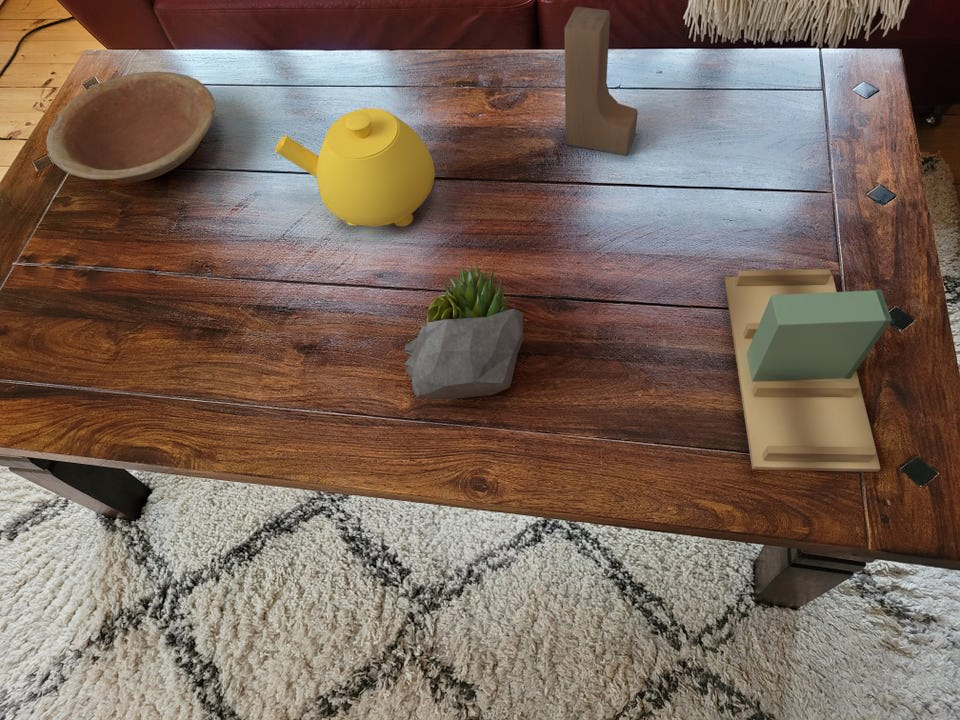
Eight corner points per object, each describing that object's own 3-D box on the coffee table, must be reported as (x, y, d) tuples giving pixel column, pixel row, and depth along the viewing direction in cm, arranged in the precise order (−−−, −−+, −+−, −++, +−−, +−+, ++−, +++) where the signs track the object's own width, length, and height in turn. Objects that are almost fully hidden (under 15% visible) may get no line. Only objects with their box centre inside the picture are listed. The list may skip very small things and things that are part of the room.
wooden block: (636, 134, 96) (648, 13, 81) (627, 156, 94) (638, 36, 79) (574, 124, 98) (574, 4, 83) (564, 145, 96) (563, 27, 81)
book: (841, 349, 74) (881, 289, 65) (850, 378, 73) (892, 320, 63) (745, 353, 75) (770, 294, 66) (751, 382, 74) (778, 325, 64)
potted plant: (387, 401, 74) (389, 272, 78) (483, 412, 82) (481, 294, 85) (447, 378, 65) (445, 233, 69) (550, 392, 72) (543, 260, 76)
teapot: (286, 241, 93) (245, 164, 81) (314, 159, 101) (280, 79, 89) (429, 244, 90) (408, 165, 78) (447, 160, 97) (430, 76, 86)
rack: (830, 279, 80) (838, 264, 78) (878, 472, 68) (889, 461, 66) (724, 280, 82) (729, 266, 79) (752, 469, 69) (758, 459, 67)
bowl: (213, 211, 97) (186, 169, 91) (58, 221, 100) (21, 181, 93) (245, 101, 110) (224, 57, 103) (106, 112, 112) (76, 70, 105)
